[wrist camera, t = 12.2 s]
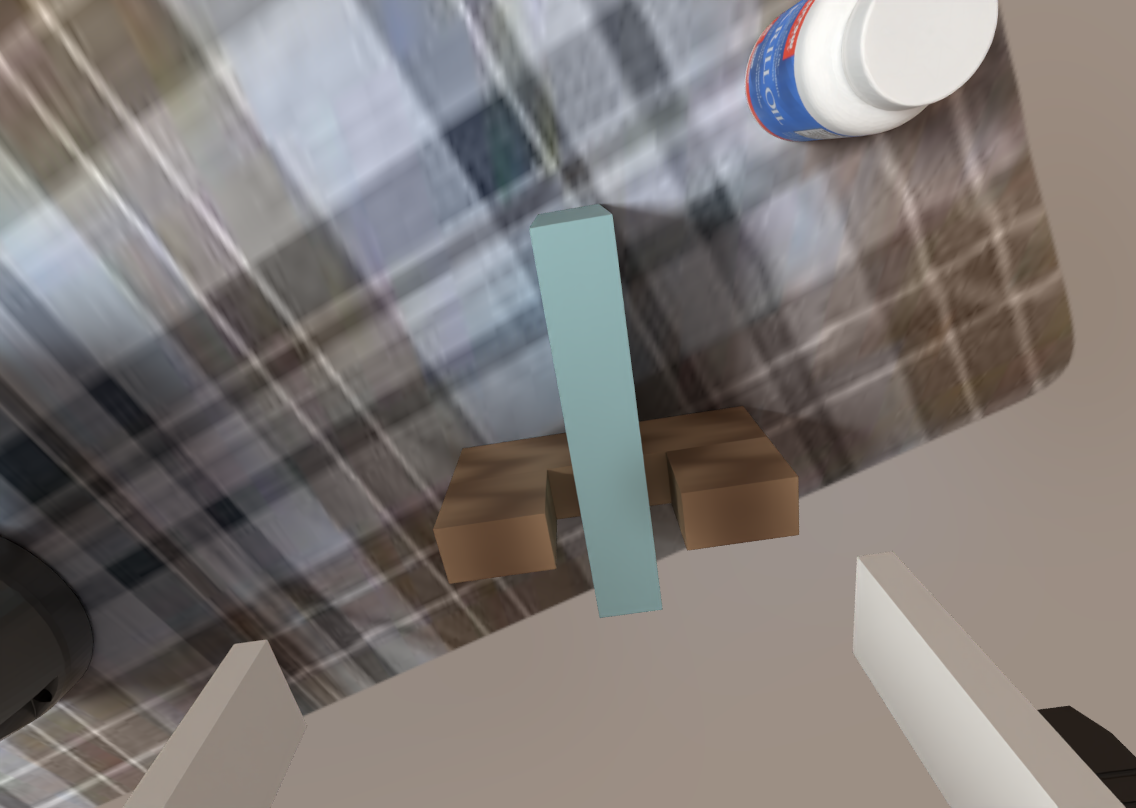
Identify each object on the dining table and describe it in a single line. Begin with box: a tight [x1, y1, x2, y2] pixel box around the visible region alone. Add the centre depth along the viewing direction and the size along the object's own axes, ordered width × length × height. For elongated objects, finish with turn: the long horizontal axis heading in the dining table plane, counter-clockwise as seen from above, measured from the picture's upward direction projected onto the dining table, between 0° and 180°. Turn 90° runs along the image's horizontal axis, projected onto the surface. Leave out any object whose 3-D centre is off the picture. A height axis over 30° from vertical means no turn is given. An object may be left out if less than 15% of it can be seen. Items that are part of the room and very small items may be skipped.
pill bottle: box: [745, 0, 998, 141], centre depth 21 cm, size 6×5×10 cm
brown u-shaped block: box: [433, 406, 799, 584], centre depth 29 cm, size 16×3×8 cm, turn 99°
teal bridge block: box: [529, 204, 662, 618], centre depth 27 cm, size 3×18×8 cm, turn 9°
